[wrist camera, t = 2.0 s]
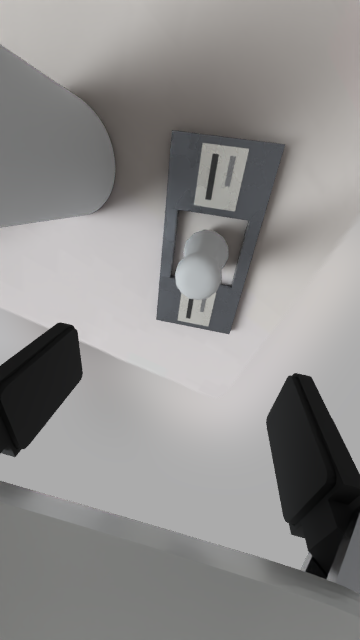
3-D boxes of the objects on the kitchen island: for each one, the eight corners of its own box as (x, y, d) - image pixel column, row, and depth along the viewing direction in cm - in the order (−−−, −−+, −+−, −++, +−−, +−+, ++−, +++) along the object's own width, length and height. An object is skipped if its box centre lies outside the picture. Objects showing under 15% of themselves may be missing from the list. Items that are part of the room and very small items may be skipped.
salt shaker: (237, 244, 29) (245, 274, 18) (211, 278, 32) (205, 321, 21) (201, 218, 28) (187, 232, 17) (178, 255, 31) (153, 287, 20)
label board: (174, 133, 25) (171, 129, 23) (282, 146, 24) (285, 144, 22) (158, 316, 37) (155, 320, 36) (229, 330, 36) (229, 335, 35)
